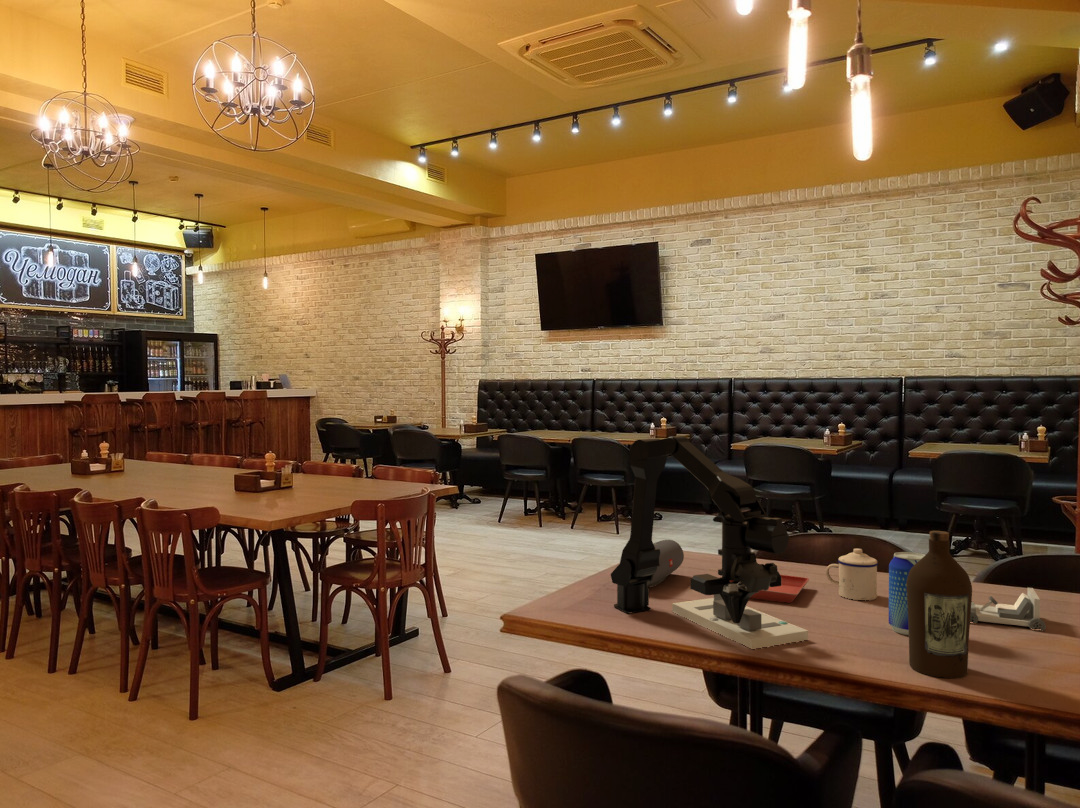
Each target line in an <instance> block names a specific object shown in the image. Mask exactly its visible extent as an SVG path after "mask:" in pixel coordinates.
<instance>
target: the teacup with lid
mask: <svg viewBox="0 0 1080 808" xmlns="http://www.w3.org/2000/svg"><path fill="white" fill-rule="evenodd" d="M837 562H838V563H831V564H829V565H828V566H826V567H825V577H826V578H827V580H828V581H829V582H830V583H831V584H834V585H837V586H838V594H839V596H840V597H841V596H842V597H841V598H844V597H845V598H844V599H847V598H848V599H847V600H851V599H853V600H852V601H858V600H865V601H864V602H867V601H866V600H869V601H874V600H875V599H877V597H878V593H877V592H878V582H877V580H878V565H879V563H878V560H877V559H876V558H874V557H871V556H869V555H868V554H866V553H863V549H862V548H853V551H852V552H849V553H848V554H845V555H841V556H839V557H838V559H837ZM831 568H838V580H834V579H833V578H832V577H831V574H830V569H831Z"/></svg>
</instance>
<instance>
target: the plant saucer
mask: <svg viewBox="0 0 1080 808" xmlns="http://www.w3.org/2000/svg"><path fill="white" fill-rule="evenodd" d="M780 575H781V577H782V585H781V586H777V587H769V589H768V590H759V592H758V593H755V594H754V595H752V596H751V597H750V598H749V599H753V598H756V599H755V600H761V599H762V600H763V601H768V600H769V602H776V601H778V603H784V602H787V603H786V604H792V603H793V601H795V599H796V598H797V597H798V595H799V594H800V593H801V591H802V590H803V589H804V588H805V586H806V585H807V583H808V582H809V581H810V578H808V577H804V576H794V575H793V576H792V575H787V574H780ZM729 582H731V581H729ZM762 600H761V601H762Z"/></svg>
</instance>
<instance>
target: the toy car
mask: <svg viewBox="0 0 1080 808" xmlns="http://www.w3.org/2000/svg"><path fill="white" fill-rule="evenodd" d="M1026 591H1027V592H1026V593H1027V594H1026V593H1024V592H1021V593H1020V595H1019V597H1018V598H1017V600H1016V601H1015V603H1014V604H1005V603H998V601H997V600H996V599H995V598H994V597H993V596H991V595H990V596H989V597H988V599H989V601H988V602H987V603H985V604H984V605H982V604H975V602H974V601H971V614H970V622H973V623H976V624H978V622H985V623H993V624H1002V625H1003V624H1004V625H1011V626H1012V625H1014V626H1021V627H1029V629H1030V630H1031V628H1032V629H1035V628H1036V629H1041V630H1044V631H1045V630H1046V628H1047V627H1046V626H1047V625H1046V623H1045V621H1044V620H1043V619H1041V618H1040V616H1041V599H1040V597H1039V596H1038V594H1037V592H1036V591H1035V589H1034V588H1033V587H1027V590H1026ZM991 604H993V606H991ZM994 605H995V606H994Z"/></svg>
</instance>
